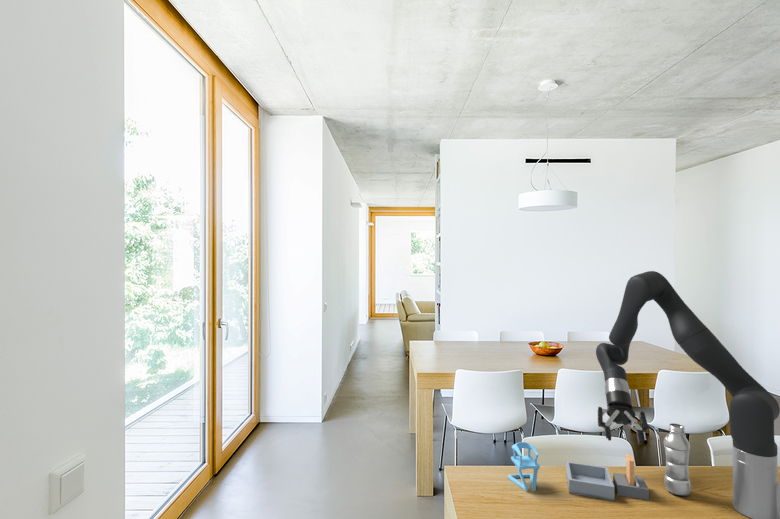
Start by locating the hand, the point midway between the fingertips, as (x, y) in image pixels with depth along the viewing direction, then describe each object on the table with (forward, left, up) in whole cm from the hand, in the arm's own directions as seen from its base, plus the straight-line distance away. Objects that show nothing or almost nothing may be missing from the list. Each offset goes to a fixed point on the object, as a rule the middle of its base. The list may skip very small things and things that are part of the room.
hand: (624, 441), depth 130 cm
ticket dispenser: (0, +8, -12) cm, 14 cm away
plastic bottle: (-13, +4, -12) cm, 18 cm away
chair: (+30, +14, -12) cm, 35 cm away
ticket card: (0, +8, -12) cm, 14 cm away
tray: (+11, +9, -12) cm, 19 cm away
